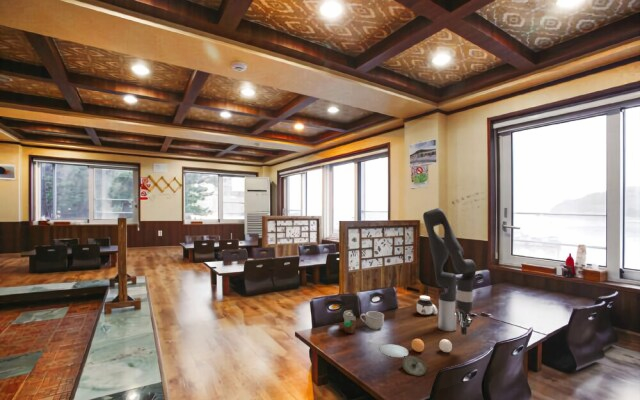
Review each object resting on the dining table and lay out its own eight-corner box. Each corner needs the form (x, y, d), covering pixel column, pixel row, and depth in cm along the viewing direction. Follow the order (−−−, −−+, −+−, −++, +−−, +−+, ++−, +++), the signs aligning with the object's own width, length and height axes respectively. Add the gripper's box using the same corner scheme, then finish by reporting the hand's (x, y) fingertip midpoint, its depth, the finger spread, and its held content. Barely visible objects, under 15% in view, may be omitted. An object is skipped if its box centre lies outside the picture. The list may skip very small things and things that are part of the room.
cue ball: (448, 349, 160) (448, 337, 161) (454, 354, 154) (454, 342, 155) (437, 348, 160) (437, 337, 160) (442, 354, 154) (442, 342, 154)
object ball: (421, 348, 160) (421, 336, 160) (425, 354, 154) (426, 341, 154) (409, 348, 160) (410, 336, 160) (413, 353, 154) (414, 341, 154)
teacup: (384, 325, 190) (385, 312, 190) (382, 332, 180) (382, 318, 180) (362, 322, 195) (362, 309, 195) (358, 328, 185) (358, 314, 185)
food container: (341, 326, 187) (341, 309, 187) (351, 326, 187) (351, 309, 188) (344, 335, 175) (345, 316, 175) (355, 334, 175) (355, 316, 175)
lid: (421, 365, 143) (421, 353, 143) (430, 376, 133) (430, 364, 133) (398, 364, 143) (399, 353, 143) (405, 376, 133) (405, 364, 133)
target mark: (403, 344, 164) (403, 344, 164) (412, 357, 150) (412, 357, 150) (377, 344, 163) (377, 344, 163) (383, 357, 149) (383, 356, 149)
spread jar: (414, 313, 215) (415, 296, 215) (423, 310, 223) (423, 293, 223) (431, 318, 206) (431, 300, 207) (439, 314, 214) (439, 297, 214)
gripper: (478, 303, 152) (477, 339, 151) (465, 296, 165) (465, 329, 164) (463, 302, 152) (462, 339, 151) (451, 295, 165) (450, 328, 164)
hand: (463, 334), depth 158 cm, fingers closed
